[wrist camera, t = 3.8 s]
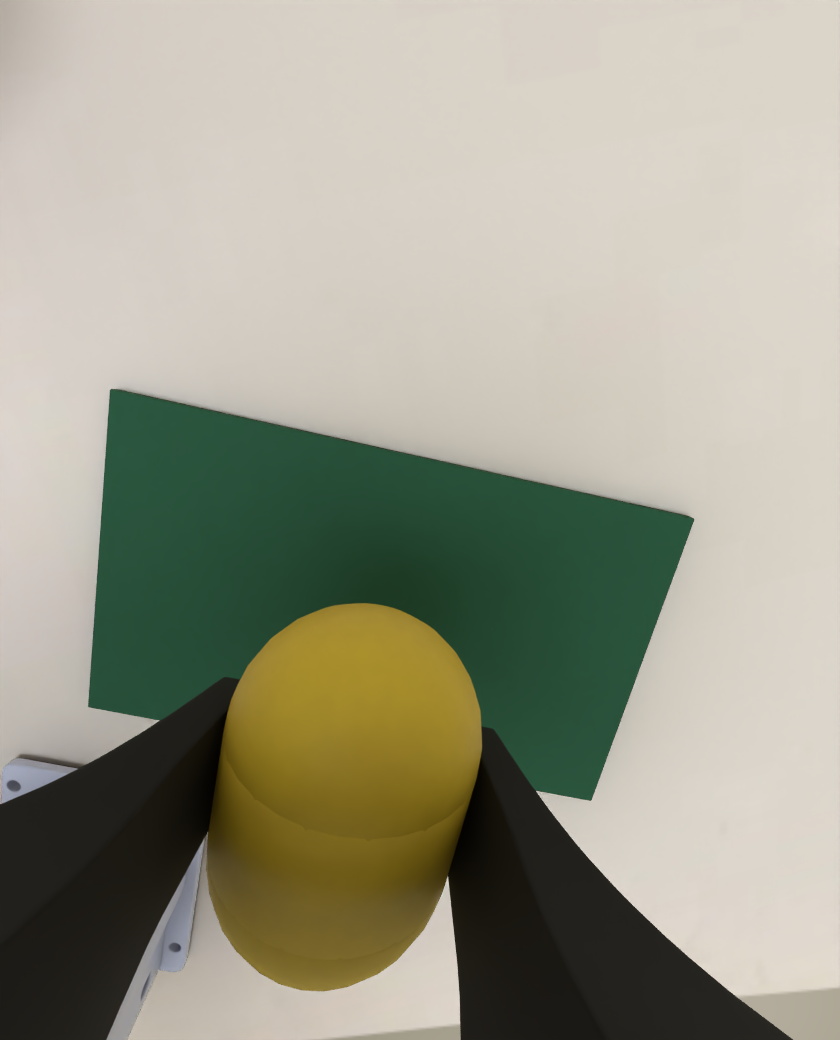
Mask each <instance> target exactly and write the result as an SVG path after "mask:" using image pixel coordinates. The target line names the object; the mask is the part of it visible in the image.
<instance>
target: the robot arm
mask: <svg viewBox="0 0 840 1040" xmlns="http://www.w3.org/2000/svg"><path fill="white" fill-rule="evenodd" d="M239 681H240V679H235V678H230V677H223V678H222V679H220V680H219V681H217V682H216V683H214V684H213V685H211V686H210V687H208V688H207V689H206V690H204V691H203V692H201V693H200V694H199V695H197V696H196V697H194V698H193V699H191V700H190V701H189V702H187V703H186V704H184V705H183V706H181V707H180V708H179V709H177V710H176V711H174V712H173V713H171V714H170V715H168V716H166V717H165V718H163V719H162V720H160V721H159V722H157V723H156V724H154V725H153V726H151V727H150V728H148V729H147V730H145V731H144V732H142V733H140V734H139V735H137V736H135V737H134V738H132V739H130V740H129V741H127V742H125V743H124V744H122V745H120V746H119V747H117V748H115V749H113V750H112V751H110V752H108V753H107V754H105V755H103V756H101V757H100V758H98V759H96V760H94V761H92V762H90V763H89V764H87V765H85V766H83V767H81V768H79V769H77V768H72V767H66V766H61V765H55V764H50V763H44V762H39V761H33V760H27V759H22V758H16V759H13V760H11V761H10V762H9V763H8V764H7V765H6V766H5V767H4V768H3V770H2V795H1V804H0V1040H127V1039H128V1037H129V1034H130V1032H131V1030H132V1028H133V1025H134V1023H135V1021H136V1019H137V1017H138V1014H139V1012H140V1010H141V1008H142V1005H143V1003H144V1001H145V999H146V997H147V994H148V992H149V990H150V988H151V985H152V983H153V981H154V979H155V977H156V974H157V972H158V970H162V971H169V972H177V971H180V970H181V969H183V967H184V965H185V963H186V960H187V958H188V951H189V944H190V937H191V930H192V923H193V916H194V909H195V903H196V896H197V889H198V882H199V875H200V868H201V861H202V854H203V847H204V840H205V836H206V834H207V832H208V831H209V825H210V818H211V811H212V804H213V798H214V791H215V784H216V778H217V771H218V764H219V757H220V751H221V744H222V737H223V731H224V726H225V721H226V717H227V713H228V710H229V706H230V702H231V699H232V697H233V694H234V692H235V690H236V687H237V685H238V683H239ZM481 731H482V752H481V758H480V764H479V769H478V775H477V779H476V782H475V786H474V789H473V792H472V796H471V799H470V802H469V806H468V809H467V812H466V816H465V819H464V822H463V826H462V829H461V833H460V836H459V839H458V843H457V846H456V849H455V853H454V856H453V859H452V863H451V866H450V869H449V873H448V878H449V888H450V898H451V907H452V917H453V926H454V935H455V945H456V954H457V964H458V977H459V992H460V1028H461V1040H793V1039H791V1038H790V1037H789V1036H787V1035H786V1034H785V1033H783V1032H782V1031H781V1030H779V1029H778V1028H777V1027H775V1026H774V1025H773V1024H772V1023H770V1022H769V1021H767V1020H766V1019H765V1018H764V1017H762V1016H761V1015H760V1014H758V1013H757V1012H756V1011H754V1010H753V1009H752V1008H750V1007H749V1006H748V1005H746V1004H745V1003H744V1002H742V1001H741V1000H740V999H738V998H737V997H736V996H735V995H733V994H732V993H731V992H730V991H728V990H727V989H726V988H725V987H723V986H722V985H721V984H720V983H719V982H718V981H716V980H715V979H714V978H713V977H712V976H710V975H709V974H708V973H707V972H706V971H704V970H703V969H702V968H701V967H700V966H698V965H697V964H696V963H695V962H694V961H693V960H691V959H690V958H689V957H688V956H687V955H686V954H684V953H683V952H682V951H681V950H680V949H679V948H678V947H677V946H675V945H674V944H673V943H672V942H671V941H670V940H669V939H668V938H666V937H665V936H664V935H663V934H662V933H661V932H660V931H659V930H658V929H657V928H656V927H655V926H654V925H653V924H652V923H651V922H650V921H649V920H647V919H646V918H645V917H644V916H643V915H642V914H641V913H640V912H639V911H638V910H637V909H636V908H635V907H634V906H633V905H632V904H631V903H630V902H629V901H628V900H627V899H626V898H625V897H624V896H623V895H622V894H621V893H620V892H619V891H618V890H617V889H616V888H615V887H614V886H613V885H612V884H611V883H610V881H609V880H608V879H607V878H606V877H605V876H604V875H603V874H602V873H601V872H600V870H599V869H598V868H597V867H596V866H595V865H594V864H593V863H592V862H591V861H590V860H589V858H588V857H587V856H586V855H585V854H584V853H583V851H582V850H581V849H580V848H579V847H578V846H577V844H576V843H575V842H574V841H573V839H572V838H571V837H570V836H569V834H568V833H567V832H566V831H565V829H564V828H563V827H562V826H561V824H560V823H559V822H558V821H557V819H556V818H555V817H554V815H553V814H552V813H551V811H550V810H549V809H548V807H547V806H546V805H545V803H544V802H543V801H542V799H541V798H540V797H539V795H538V794H537V792H536V791H535V790H534V788H533V787H532V785H531V784H530V782H529V781H528V780H527V778H526V777H525V775H524V774H523V772H522V771H521V769H520V768H519V766H518V765H517V763H516V762H515V760H514V759H513V757H512V756H511V754H510V753H509V751H508V750H507V748H506V747H505V745H504V743H503V742H502V740H501V739H500V737H499V736H498V734H497V733H496V731H495V730H494V729H493V728H488V727H482V726H481Z"/></svg>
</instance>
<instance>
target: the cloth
mask: <svg viewBox="0 0 840 1040" xmlns="http://www.w3.org/2000/svg"><path fill="white" fill-rule="evenodd" d="M693 522H694V518H692V517H689V516H686V515H681V514H677V513H672V512H668V511H663V510H659V509H654V508H650V507H645V506H641V505H636V504H632V503H627V502H623V501H618V500H614V499H609V498H605V497H600V496H596V495H591V494H587V493H582V492H578V491H573V490H569V489H564V488H560V487H555V486H551V485H546V484H542V483H537V482H533V481H528V480H524V479H519V478H515V477H510V476H506V475H501V474H497V473H492V472H488V471H483V470H479V469H474V468H470V467H465V466H461V465H456V464H452V463H447V462H443V461H438V460H434V459H429V458H424V457H420V456H415V455H411V454H406V453H402V452H397V451H393V450H388V449H384V448H379V447H375V446H370V445H366V444H361V443H357V442H352V441H348V440H343V439H339V438H334V437H330V436H325V435H321V434H316V433H312V432H307V431H303V430H298V429H294V428H289V427H285V426H280V425H276V424H271V423H267V422H262V421H258V420H253V419H249V418H244V417H240V416H235V415H231V414H226V413H222V412H217V411H213V410H208V409H204V408H199V407H195V406H190V405H186V404H181V403H177V402H172V401H168V400H163V399H159V398H154V397H150V396H145V395H141V394H136V393H132V392H127V391H123V390H118V389H111V390H110V400H109V414H108V429H107V443H106V458H105V472H104V486H103V501H102V515H101V530H100V544H99V559H98V573H97V588H96V602H95V617H94V631H93V645H92V660H91V674H90V689H89V703H88V707H91V708H96V709H102V710H107V711H112V712H118V713H123V714H129V715H134V716H139V717H145V718H150V719H155V720H162V719H163V718H165V717H166V716H168V715H170V714H171V713H173V712H174V711H176V710H177V709H179V708H180V707H181V706H183V705H184V704H186V703H187V702H189V701H190V700H191V699H193V698H194V697H196V696H197V695H199V694H200V693H201V692H203V691H204V690H206V689H207V688H208V687H210V686H211V685H213V684H214V683H216V682H217V681H219V680H220V679H222V678H223V677H230V678H235V679H241V678H242V676H243V674H244V672H245V670H246V668H247V666H248V665H249V664H250V662H251V661H252V660H253V659H254V658H255V656H256V655H257V654H258V653H259V652H260V651H261V649H262V648H263V647H264V646H265V645H266V644H267V643H268V641H269V640H270V639H271V638H272V637H273V636H275V635H276V634H278V633H279V632H280V631H282V630H283V629H284V628H286V627H287V626H289V625H290V624H291V623H293V622H294V621H296V620H297V619H299V618H301V617H304V616H306V615H308V614H311V613H313V612H316V611H318V610H321V609H323V608H326V607H330V606H334V605H342V604H355V603H369V604H378V605H384V606H388V607H392V608H395V609H398V610H400V611H403V612H405V613H407V614H409V615H411V616H413V617H415V618H417V619H418V620H420V621H422V622H424V623H425V624H427V625H428V626H430V627H431V628H432V629H434V630H435V631H436V632H437V633H438V634H439V635H440V636H441V637H442V638H443V639H444V640H445V641H446V642H447V643H448V644H449V645H450V646H451V648H452V649H453V650H454V651H455V652H456V654H457V655H458V657H459V658H460V660H461V662H462V663H463V665H464V667H465V669H466V671H467V672H468V674H469V676H470V678H471V681H472V684H473V687H474V690H475V693H476V697H477V700H478V704H479V707H480V711H481V726H482V727H488V728H493V729H494V730H495V731H496V733H497V734H498V736H499V737H500V739H501V740H502V742H503V743H504V745H505V747H506V748H507V750H508V751H509V753H510V754H511V756H512V757H513V759H514V760H515V762H516V763H517V765H518V766H519V768H520V769H521V771H522V772H523V774H524V775H525V777H526V778H527V780H528V781H529V782H530V784H531V785H532V787H533V788H534V790H536V791H541V792H547V793H552V794H557V795H563V796H568V797H573V798H579V799H584V800H590V801H591V800H592V797H593V794H594V792H595V789H596V786H597V783H598V781H599V778H600V775H601V772H602V770H603V767H604V764H605V762H606V759H607V756H608V753H609V751H610V748H611V745H612V742H613V740H614V737H615V734H616V732H617V729H618V726H619V723H620V721H621V718H622V715H623V712H624V710H625V707H626V704H627V702H628V699H629V696H630V693H631V691H632V688H633V685H634V683H635V680H636V677H637V674H638V672H639V669H640V666H641V663H642V661H643V658H644V655H645V653H646V650H647V647H648V644H649V642H650V639H651V636H652V633H653V631H654V628H655V625H656V623H657V620H658V617H659V614H660V612H661V609H662V606H663V603H664V601H665V598H666V595H667V593H668V590H669V587H670V584H671V582H672V579H673V576H674V573H675V571H676V568H677V565H678V563H679V560H680V557H681V554H682V552H683V549H684V546H685V544H686V541H687V538H688V535H689V533H690V530H691V527H692V524H693Z"/></svg>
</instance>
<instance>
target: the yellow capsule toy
mask: <svg viewBox="0 0 840 1040" xmlns="http://www.w3.org/2000/svg"><path fill="white" fill-rule="evenodd" d="M481 752H482V731H481V711H480V707H479V704H478V700H477V697H476V693H475V690H474V687H473V684H472V681H471V678H470V676H469V674H468V672H467V671H466V669H465V667H464V665H463V663H462V662H461V660H460V658H459V657H458V655H457V654H456V652H455V651H454V650H453V649H452V648H451V646H450V645H449V644H448V643H447V642H446V641H445V640H444V639H443V638H442V637H441V636H440V635H439V634H438V633H437V632H436V631H435V630H434V629H432V628H431V627H430V626H428V625H427V624H425V623H424V622H422V621H420V620H418V619H417V618H415V617H413V616H411V615H409V614H407V613H405V612H403V611H400V610H398V609H395V608H392V607H388V606H384V605H378V604H369V603H355V604H342V605H334V606H330V607H326V608H323V609H321V610H318V611H316V612H313V613H311V614H308V615H306V616H304V617H301V618H299V619H297V620H296V621H294V622H293V623H291V624H290V625H289V626H287V627H286V628H284V629H283V630H282V631H280V632H279V633H278V634H276V635H275V636H273V637H272V638H271V639H270V640H269V641H268V643H267V644H266V645H265V646H264V647H263V648H262V649H261V651H260V652H259V653H258V654H257V655H256V656H255V658H254V659H253V660H252V661H251V662H250V664H249V665H248V666H247V668H246V670H245V672H244V674H243V676H242V678H241V679H240V681H239V683H238V685H237V687H236V690H235V692H234V694H233V697H232V699H231V702H230V706H229V710H228V713H227V717H226V721H225V726H224V731H223V737H222V744H221V751H220V757H219V764H218V771H217V778H216V784H215V791H214V798H213V804H212V811H211V818H210V825H209V831H208V840H207V867H206V870H207V878H208V886H209V894H210V897H211V900H212V903H213V907H214V910H215V912H216V915H217V918H218V920H219V923H220V926H221V928H222V931H223V932H224V934H225V935H226V937H227V938H228V940H229V941H230V943H231V944H232V946H233V947H234V949H235V950H236V951H237V952H238V953H239V954H240V955H241V956H242V957H243V958H244V959H245V960H246V961H247V962H248V963H249V964H250V965H251V966H253V967H254V968H255V969H256V970H257V971H258V972H259V973H261V974H262V975H264V976H266V977H268V978H270V979H271V980H273V981H275V982H277V983H279V984H281V985H285V986H288V987H292V988H295V989H299V990H308V991H328V990H334V989H339V988H345V987H348V986H351V985H353V984H356V983H358V982H360V981H363V980H365V979H367V978H370V977H372V976H374V975H377V974H378V973H380V972H381V971H383V970H384V969H385V968H387V967H388V966H390V965H391V964H392V963H394V962H395V961H396V960H398V958H399V957H400V956H401V955H402V954H403V953H404V952H405V951H406V949H407V948H408V947H409V946H410V945H411V944H412V943H413V941H414V940H415V939H416V938H417V937H418V936H419V935H420V933H421V932H422V931H423V930H424V928H425V927H426V925H427V923H428V921H429V919H430V917H431V915H432V914H433V912H434V910H435V908H436V905H437V903H438V901H439V899H440V897H441V894H442V892H443V889H444V886H445V883H446V879H447V876H448V873H449V869H450V866H451V863H452V859H453V856H454V853H455V849H456V846H457V843H458V839H459V836H460V833H461V829H462V826H463V822H464V819H465V816H466V812H467V809H468V806H469V802H470V799H471V796H472V792H473V789H474V786H475V782H476V779H477V775H478V769H479V764H480V758H481Z"/></svg>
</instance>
